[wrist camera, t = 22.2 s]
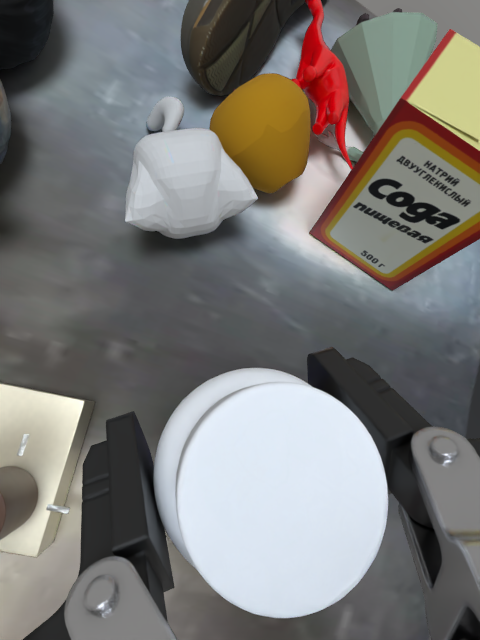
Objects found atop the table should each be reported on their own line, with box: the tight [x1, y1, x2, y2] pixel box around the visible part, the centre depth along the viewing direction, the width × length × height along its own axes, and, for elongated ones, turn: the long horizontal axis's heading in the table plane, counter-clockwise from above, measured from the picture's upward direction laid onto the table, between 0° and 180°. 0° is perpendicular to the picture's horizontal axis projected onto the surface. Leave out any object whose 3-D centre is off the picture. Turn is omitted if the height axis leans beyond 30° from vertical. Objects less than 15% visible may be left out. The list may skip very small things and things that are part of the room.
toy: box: [125, 96, 258, 239], centre depth 31 cm, size 10×8×15 cm
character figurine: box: [315, 8, 437, 162], centre depth 36 cm, size 16×8×18 cm
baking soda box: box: [310, 29, 480, 291], centre depth 28 cm, size 10×6×16 cm
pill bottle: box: [153, 368, 388, 618], centre depth 11 cm, size 5×5×9 cm
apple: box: [210, 73, 311, 193], centre depth 32 cm, size 9×9×9 cm
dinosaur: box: [292, 0, 353, 170], centre depth 35 cm, size 4×15×12 cm
